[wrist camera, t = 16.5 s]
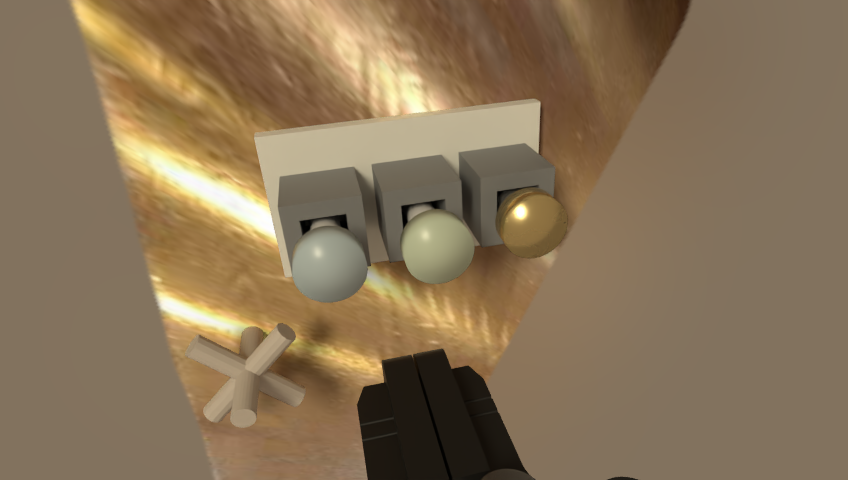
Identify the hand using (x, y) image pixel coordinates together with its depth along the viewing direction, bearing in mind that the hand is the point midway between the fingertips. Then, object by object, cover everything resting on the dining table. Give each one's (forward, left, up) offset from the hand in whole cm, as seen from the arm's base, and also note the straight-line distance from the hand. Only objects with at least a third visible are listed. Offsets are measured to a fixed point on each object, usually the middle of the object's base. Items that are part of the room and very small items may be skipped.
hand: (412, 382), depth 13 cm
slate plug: (+8, -2, -28) cm, 29 cm away
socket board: (+8, +5, -31) cm, 32 cm away
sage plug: (+8, +5, -28) cm, 29 cm away
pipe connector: (+20, -10, -31) cm, 38 cm away
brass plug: (+8, +12, -29) cm, 32 cm away
